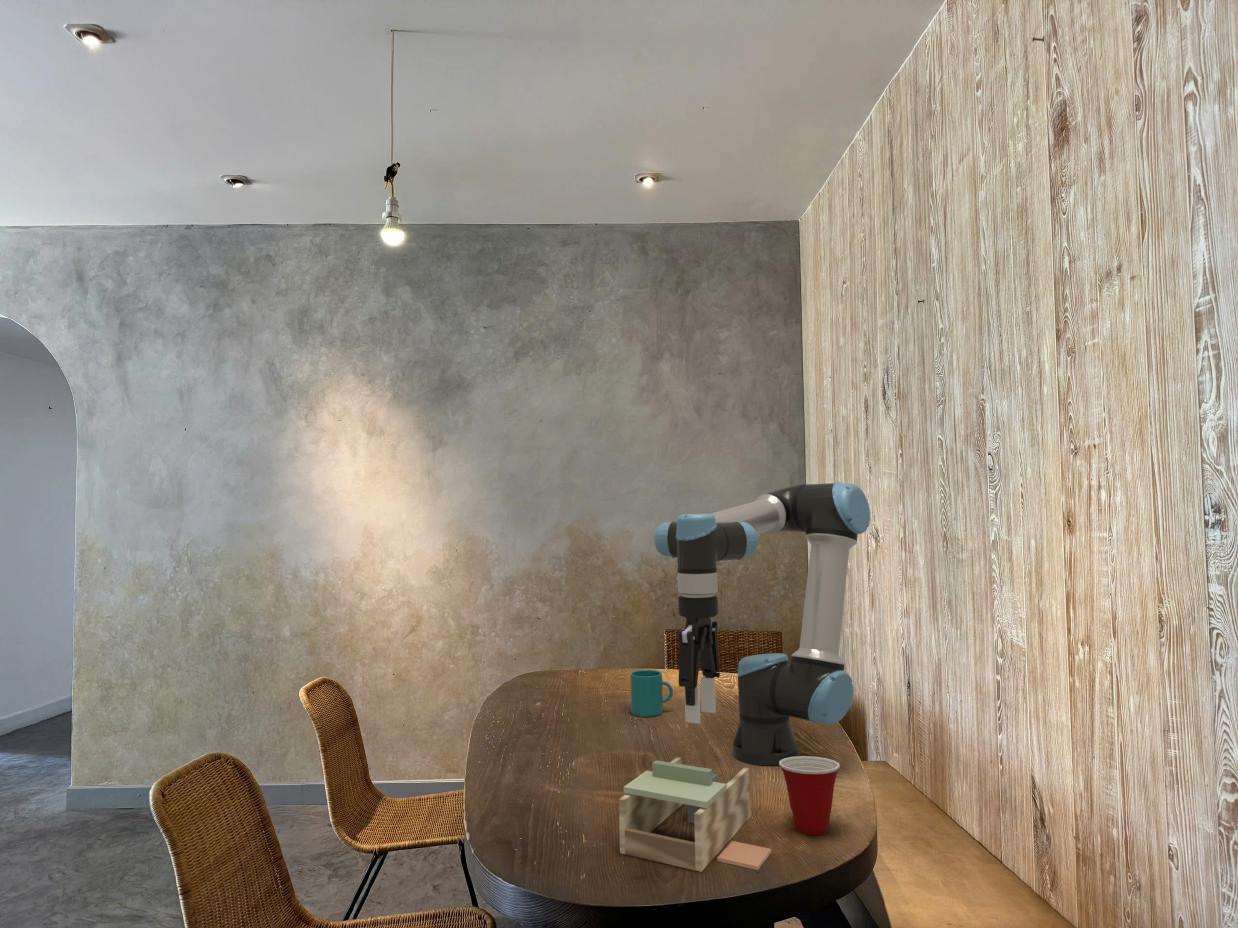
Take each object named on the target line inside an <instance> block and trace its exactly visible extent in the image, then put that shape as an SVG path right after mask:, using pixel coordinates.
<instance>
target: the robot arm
mask: <svg viewBox="0 0 1238 928" xmlns="http://www.w3.org/2000/svg"><path fill="white" fill-rule="evenodd" d="M870 523H871V509H870V504H869V501H868V499H867V497H866V495H865V492H864V491H863V489H862V488H860V487H859V486H858V485H856V484H855V483H850V482H848V483H847V482H845V483H843V482H839V481H837V482H833V483H815V484H814V483H808V484H806V483H803V484H796V485H795V484H794V485H791V486H788V487H784V488H780V489H778V490H774V491H771V492H768V493H764V494H761V495H759V496H758V497H756V498H755V500H754V501H751V502H747V503H745V504H741V505H737V506H734V507H730V508H726V509H722V510H719V511H716V512H711V513H687V514H685V513H683V514H680V515H679V516H678V517H677V519H676V521H675V520H674V521H673V520H672V521H669V522H668V521H666V522H662V523H661V524H659V525H658V526H657V528H656V530H655V533H654V538H653V539H654V546H655V549H656V551H657V552H658V553H659V554H660V555H661V556H663V557H669V558H672V559H676V560H677V576H676V577H675V578H676V579H675V580H676V581H677V592H678V593H679V594H680V596H678V598H677V600H678V601H677V603H678V605H677V607H678V608H677V609H678V615H679V616H680V617H682V618H685V619H686V620H685V625H684V626H685V627H684V630H679V631H678V645H679V648H678V649H679V650H678V651H679V652H678V686H679V687H681V688H684V715H685V716H684V719H685V723H690V724H697V725H698V724H701V712H702V713H709V714H716V713H717V709H716V708H717V707H716V706H717V705H716V703H717V702H716V701H717V700H716V678H717V679H718V678H720V676H721V672H720V656H719V641H718V640H719V639H718V621H712V619H711V618H713V617H716V616H717V615H718V614H719V598H718V596H717V595H716V594H717V593H718V592H719V591H718V587H719V586H718V567H717V566H718V565H717V564H718V563H717V562H720V561H722V562H723V561H733V560H735V561H736V560H737V561H741V560H742V559H746V558H747V559H748V558H749V557H751V556H752V555H754V553H756V550H757V549H758V546H759V545H758V544H759V542H758V541H759V539H758V535H759V534H762V533H767V534H771V535H772V534H776V533H780V532H794V533H795V532H796V533H797V532H798V533H799V532H800V533H805V539H806V540H807V541H808V542H809V543H810V552H809V553H810V554H809V561H808V572H807V578H806V588H805V596H804V606H803V612H802V613H803V614H802V624H801V630H800V641H799V648H798V649H797V650H796V651H795V652H793V653H792V654H791V658H790V662H789V657H788V655H787V654H785V653H780V652H778V653H777V652H776V653H773V652H772V653H762V654H761V653H760V654H752V655H748V656H745V657H743V658H740V660H739V662H738V663H737V664H738V666H737V667H738V669H737V675H736V676H737V687H738V689H737V691H738V693H737V694H738V712H739V720H738V725H737V728H736V732H735V735H734V737H733V738H734V739H733V743H732V756H733V757H734V758H735V759H737V760H738V761H741V762H744V763H747V764H752V765H759V766H780V765H779V762H780V760H782V759H784V758H789V757H797V756H799V745H798V743H797V739H796V737H795V733H794V731H793V727H792V724H791V720H790V719H791V717H792V718H794V719H795V718H796V719H800V720H805V721H809V722H812V723H815V724H824V725H834V724H836V723H839V722H840V721H841V720H843V718H844V717H845V716H846V715H847V713H848V711H849V709H850V707H851V706H852V702H853V697H854V684H853V679H852V677H851V675H850V674H849V673H847V672H846V671H845V664H846V663H845V662H844V661H843V659H842V658H841V656H840V643H841V635H842V633H841V632H842V623H843V614H844V613H843V612H844V607H845V605H844V603H845V596H846V595H845V594H846V584H847V575H848V565H849V555H850V550H851V549H852V548H854V546H855V545H857V544H858V536H859V535H861V534H864V533H866V531H867V530H868V528H869V527H870ZM700 667H701V674H702V676H701V677H700V686H698V682H699V672H700Z"/></svg>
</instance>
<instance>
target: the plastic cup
mask: <svg viewBox="0 0 1238 928" xmlns="http://www.w3.org/2000/svg"><path fill="white" fill-rule="evenodd" d="M840 765H841V764H840V763H839V762H838V761H836V760H834V759H830V758H827V757H821V756H820V757H819V756H809V755H808V756H807V755H806V756H805V755H800V756H797V757H789V758H784V759H782V760H780V762H779V765H778V766H779V767H781V770H782V774H783V776H784V781H785V784H786V789H787V794H788V801H789V804H790V805H789V806H790V809H791V812H792V813H791V814H792V817H793V824H794V826H795V830H796V831H797V832H799V833H801V834H803V835H808V836H822V835H825V834H826V833H828V831H829V830H828V829H829V825H830V818H831V817H830V816H831V813H832V806H833V797H834V791H835V789H834V788H835V784H836V778H837V773H838V771H839V769H840Z"/></svg>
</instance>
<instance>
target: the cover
mask: <svg viewBox="0 0 1238 928" xmlns="http://www.w3.org/2000/svg"><path fill="white" fill-rule="evenodd" d="M670 762H671V761H663V760H654V761H653V762H652V763H651V765H652V766H651V770H652V771H651V770H645V771H644V772H643V773H641V774H640V775H638V776H637V777H636V778H634V779H633V780H631V781H629V782H628V783H627V784H625V785H624V786H623V793H624V794H627V793H628V794H633V795H638V796H644V797H649V798H654V799H660V800H665V801H671V802H676V803H681V804H682V805H692V806H697V807H703V808H708V807H709V806H710V805H711V804H712V803H713V802H714V801H715V800H716V799H717V798H718V797H719V796H720V795H722V794H723V793H724V792H725V791H726V790H727V787H726V784H727V783H723V782H719V781H718V782H713V778H712V774H713V769H712V768H708V767H701V766H700V767H699V766H694V765H690V764H689V765H687V764H683V763H682V764H676V763H670Z"/></svg>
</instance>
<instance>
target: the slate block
mask: <svg viewBox="0 0 1238 928" xmlns="http://www.w3.org/2000/svg"><path fill="white" fill-rule="evenodd" d="M712 778H713V782H718V783H719V774H718V773H712ZM686 805H687V804H686ZM686 807H687V809H686V810H687V823H691V824H694V814H695V813H696V812H697V811H698V810H699V809H700V808H701V807H697V806H692V805H687V806H686Z"/></svg>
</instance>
